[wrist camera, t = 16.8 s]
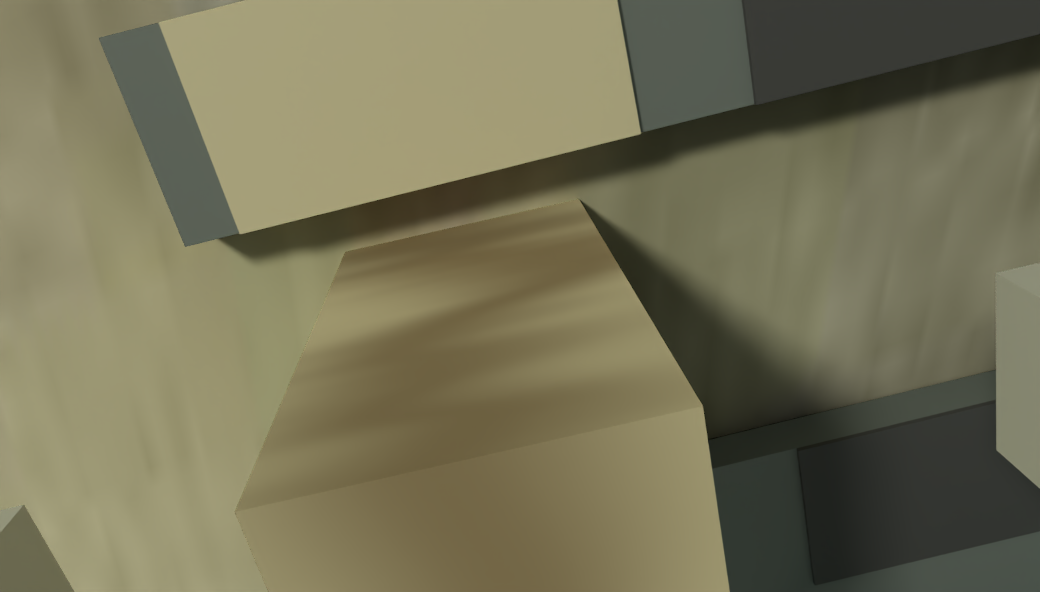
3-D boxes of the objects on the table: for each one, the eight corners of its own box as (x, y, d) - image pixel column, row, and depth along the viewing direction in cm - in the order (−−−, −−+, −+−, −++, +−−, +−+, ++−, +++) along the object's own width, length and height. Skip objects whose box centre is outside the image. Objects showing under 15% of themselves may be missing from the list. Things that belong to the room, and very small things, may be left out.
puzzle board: (1729, -375, 13) (1919, -430, 11) (1423, 755, 22) (1501, 817, 21) (124, 34, 13) (75, 40, 12) (501, 973, 23) (505, 1051, 21)
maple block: (578, 199, 15) (704, 406, 7) (617, 404, 16) (750, 742, 9) (345, 251, 15) (235, 512, 7) (407, 452, 16) (368, 829, 9)
